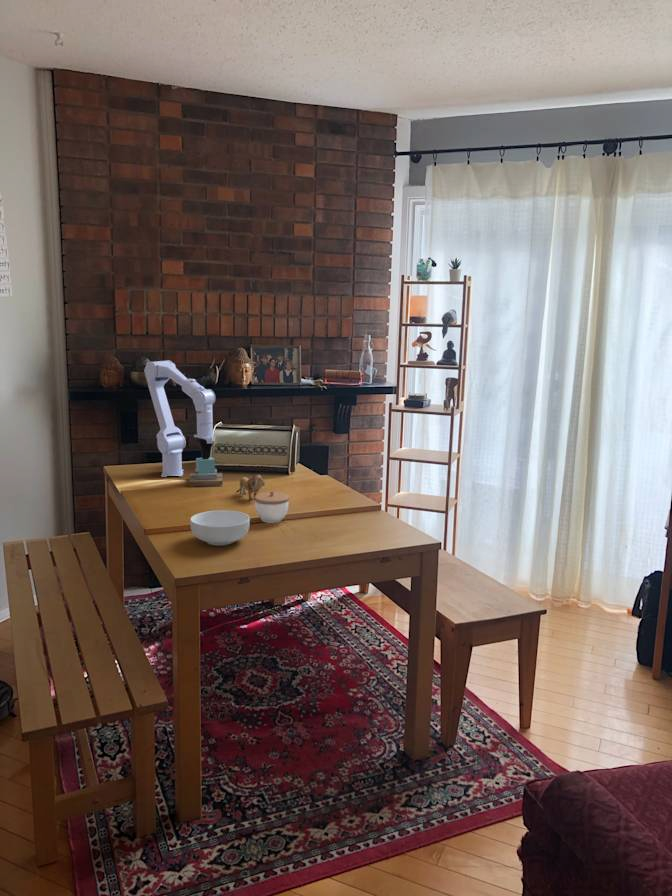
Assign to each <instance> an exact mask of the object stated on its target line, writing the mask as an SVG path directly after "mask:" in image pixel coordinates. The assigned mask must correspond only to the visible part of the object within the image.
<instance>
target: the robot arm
mask: <svg viewBox="0 0 672 896" xmlns="http://www.w3.org/2000/svg"><path fill="white" fill-rule="evenodd" d="M143 371H144V375H145V379H146V382H147V386H148V389H149V393H150V396H151V401H152V404H153V407H154V411H155V414H156V418H157V421H158V424H159V428H160V429H159V431H158V432H157V434H156V439H157V441H156V444H157V448H158V450H159V452H160V453H161V454H162V473H161V478H163V477H164V478H168V477H167V476H179V477H183V475H184V472H185V470H184V469H183V466H182V465H183V463H182V462H183V461H182V460H183V459H182V458H183V457H182V452H183V451H184V449H185V448H186V443H187V442H186V438H185V436H184V435H183V432H182V430H181V429H180V428H179V427H178V426H175V422H174V418H173V415H172V411H171V408H170V404H169V401H168V398H167V395H166V391H165V388H164V387H165V384H166V383H168V381H169V380H172V381H174V382H175V383H176V384H178V386H179V385H180V387H181V391H182V392H183V393H185V394H186V395H187V396H189V398H191V399H192V401H193V405H194V407H195V411H196V434H193V437H194V438H198V439H197V440H196V442H197V444H198V447H199V449H200V450H199V451H200V454H201V458H202V459H209V457H211V456H210V455H211V452H212V447H213V445H214V444H215V441H214V428H213V427H214V426H213V425H214V424H213V421H214V419H213V405H214V404H215V402H216V400H217V399H216V394H215V392H214V391H213V390H212V389H210V388H208V389H206V388H205V387H204V385H203V386H202V385H201V384H200V383H198V382H197V380H196V379H194V378H188V377H186V376H185V375H184V374H183V373H182V372H181V371H180V370H179V369H178V368H177V367H176V364H175V363H173V362H172V361H171V360H169V359H167V360H159V361H158V360H157V361H148V362H147V363H146V364H145V367H144V370H143ZM183 471H184V472H183Z"/></svg>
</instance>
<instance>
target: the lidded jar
mask: <svg viewBox="0 0 672 896" xmlns="http://www.w3.org/2000/svg"><path fill="white" fill-rule="evenodd" d="M289 501H290V495H289V494H286V493H285V492H278V491H275V492H274V491H273V490H270V491H267V492H259V493H257V494H256V496H255V499H254V507H255V512H256V514H257V516H258V518H260V520H261V521H262V522H263V523H266V524H277V523H280V522H282V520H283V519H284V518H285V517H286V515H287V513H288V511H289V505H290V504H289Z"/></svg>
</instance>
